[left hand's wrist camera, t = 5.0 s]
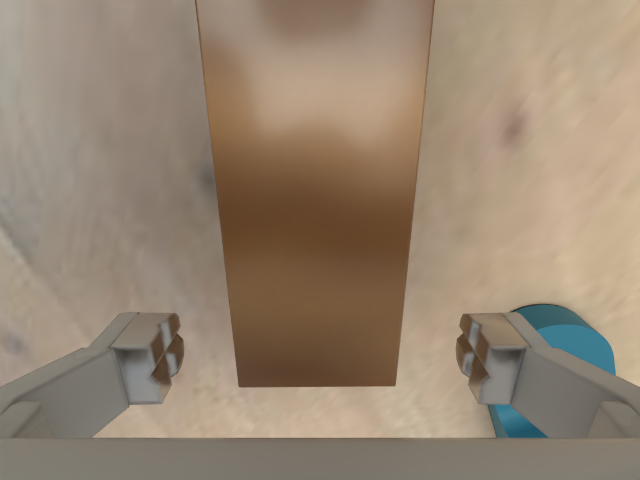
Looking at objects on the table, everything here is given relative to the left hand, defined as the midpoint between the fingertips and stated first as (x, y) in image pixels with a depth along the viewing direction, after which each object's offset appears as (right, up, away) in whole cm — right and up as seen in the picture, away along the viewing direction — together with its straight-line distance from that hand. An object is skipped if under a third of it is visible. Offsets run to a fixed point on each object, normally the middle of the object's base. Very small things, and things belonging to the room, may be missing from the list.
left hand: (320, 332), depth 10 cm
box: (0, +11, +7) cm, 13 cm away
